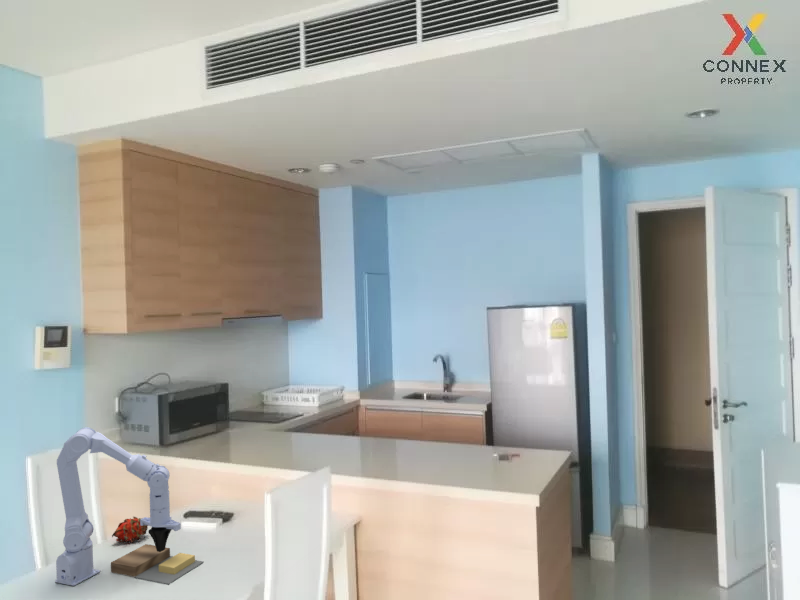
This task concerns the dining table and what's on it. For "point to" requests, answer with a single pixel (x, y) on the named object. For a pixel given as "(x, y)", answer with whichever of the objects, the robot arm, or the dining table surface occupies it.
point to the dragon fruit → (130, 530)
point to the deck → (139, 560)
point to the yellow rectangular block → (176, 563)
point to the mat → (162, 577)
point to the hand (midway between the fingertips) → (161, 550)
